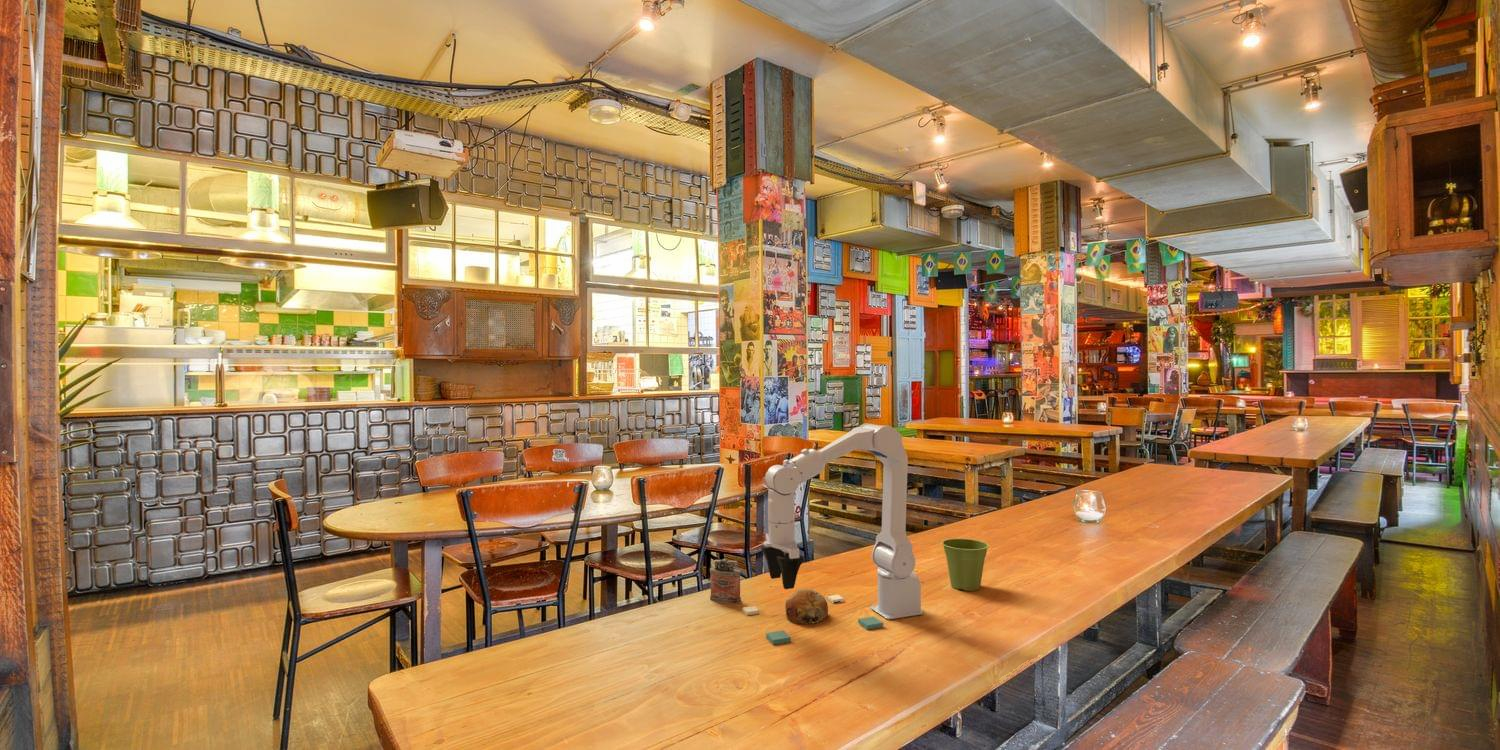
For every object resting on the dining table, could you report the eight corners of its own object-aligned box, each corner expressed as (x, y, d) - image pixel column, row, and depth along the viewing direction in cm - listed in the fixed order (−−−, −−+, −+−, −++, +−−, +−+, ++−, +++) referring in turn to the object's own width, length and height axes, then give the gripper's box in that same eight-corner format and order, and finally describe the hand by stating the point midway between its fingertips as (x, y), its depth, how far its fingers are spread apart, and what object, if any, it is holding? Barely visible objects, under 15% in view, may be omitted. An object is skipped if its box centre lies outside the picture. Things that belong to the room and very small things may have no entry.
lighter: (707, 600, 165) (707, 560, 165) (713, 596, 168) (713, 556, 168) (737, 604, 162) (737, 563, 162) (743, 600, 165) (742, 559, 165)
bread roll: (830, 629, 156) (833, 593, 159) (821, 625, 147) (824, 587, 150) (789, 624, 159) (793, 589, 162) (777, 620, 150) (782, 583, 153)
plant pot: (999, 588, 172) (999, 544, 172) (969, 597, 165) (969, 552, 165) (961, 576, 182) (961, 535, 182) (931, 585, 175) (931, 542, 175)
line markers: (839, 597, 166) (839, 593, 166) (883, 627, 147) (883, 622, 147) (740, 611, 158) (740, 607, 158) (773, 644, 138) (773, 640, 138)
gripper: (752, 515, 152) (753, 575, 152) (777, 529, 138) (777, 595, 138) (781, 513, 154) (782, 571, 154) (808, 526, 141) (808, 591, 141)
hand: (782, 583), depth 146 cm, fingers open, 7 cm apart
